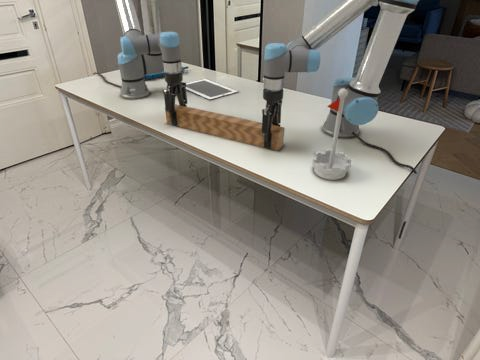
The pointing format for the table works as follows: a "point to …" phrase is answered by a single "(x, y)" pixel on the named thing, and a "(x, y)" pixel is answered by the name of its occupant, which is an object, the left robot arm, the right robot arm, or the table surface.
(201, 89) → the tablet
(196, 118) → the post
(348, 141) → the table surface
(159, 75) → the submachine gun
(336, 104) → the flag stand
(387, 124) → the table surface
